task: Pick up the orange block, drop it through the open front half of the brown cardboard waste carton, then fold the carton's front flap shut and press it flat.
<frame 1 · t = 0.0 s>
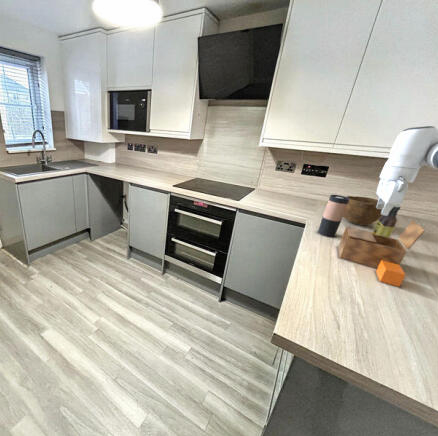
hand: (381, 211, 88), 22 cm above the worktop, tool pointing down, fingers open, 8 cm apart
sauce bottle: (376, 244, 113), on the worktop
bowl: (356, 223, 139), on the worktop
carton: (363, 258, 98), on the worktop
travel mug: (325, 234, 121), on the worktop
carton flap: (410, 234, 88), point 14 cm above the worktop, hinge at 100.0°
orange block: (386, 278, 85), on the worktop
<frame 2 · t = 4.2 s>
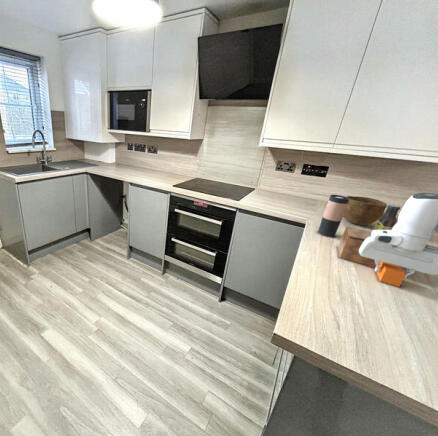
hand: (388, 274, 84), 2 cm above the worktop, tool pointing down, fingers closed on orange block, 5 cm apart
orange block: (386, 278, 85), on the worktop, touching gripper
everything else where it was.
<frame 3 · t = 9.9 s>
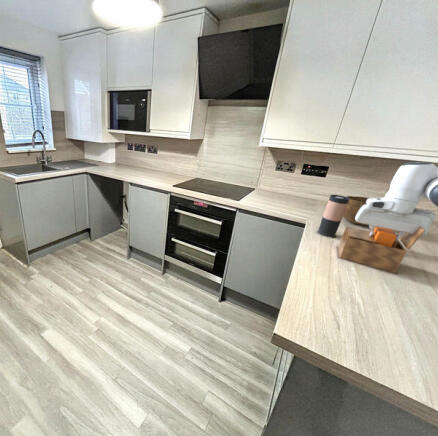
hand: (382, 238, 93), 10 cm above the worktop, tool pointing down, fingers closed on orange block, 5 cm apart
orange block: (380, 242, 94), point 9 cm above the worktop, touching gripper
everything else where it was.
when the fingers open (13 cm above the worktop, at t = 28.4 s): orange block drops 11 cm, resting on carton.
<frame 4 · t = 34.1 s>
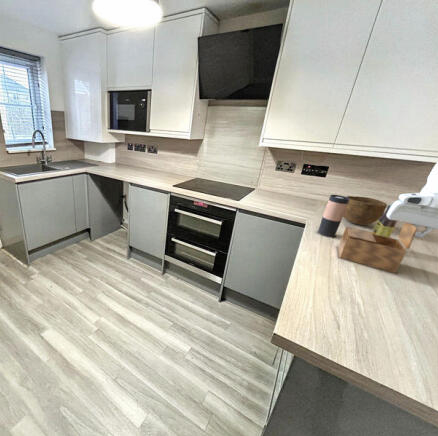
hand: (416, 236, 87), 14 cm above the worktop, tool pointing down, fingers closed
carton flap: (407, 233, 89), point 14 cm above the worktop, hinge at 86.6°, touching gripper
orange block: (372, 259, 97), resting on carton
everything else where it was.
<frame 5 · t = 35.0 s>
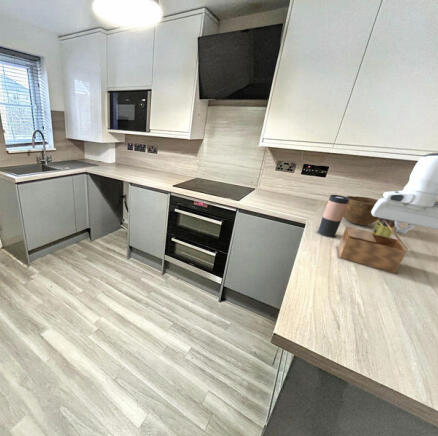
hand: (399, 233, 90), 14 cm above the worktop, tool pointing down, fingers closed
carton flap: (395, 234, 90), point 13 cm above the worktop, hinge at 43.4°, touching gripper
everything else where it was.
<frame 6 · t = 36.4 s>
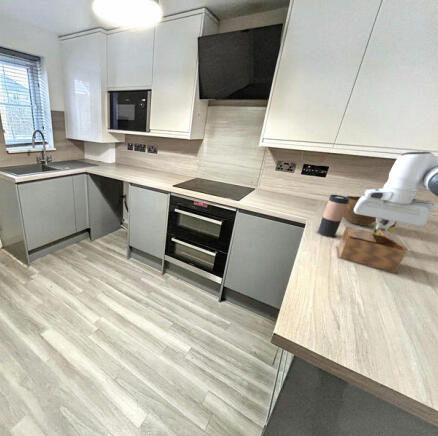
hand: (380, 229, 93), 14 cm above the worktop, tool pointing down, fingers closed
carton flap: (391, 236, 91), point 12 cm above the worktop, hinge at 23.3°, touching gripper
everything else where it was.
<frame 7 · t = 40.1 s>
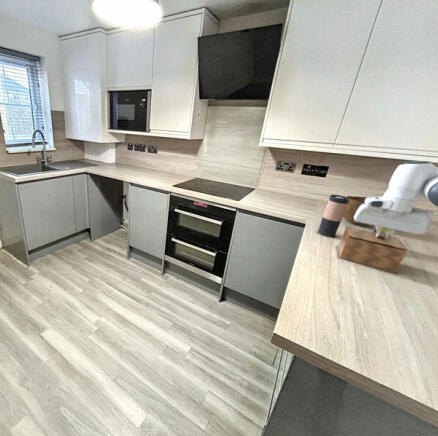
hand: (380, 237, 93), 11 cm above the worktop, tool pointing down, fingers closed, pressing on carton flap
carton flap: (388, 240, 92), point 10 cm above the worktop, hinge at 1.1°, touching gripper
everything else where it was.
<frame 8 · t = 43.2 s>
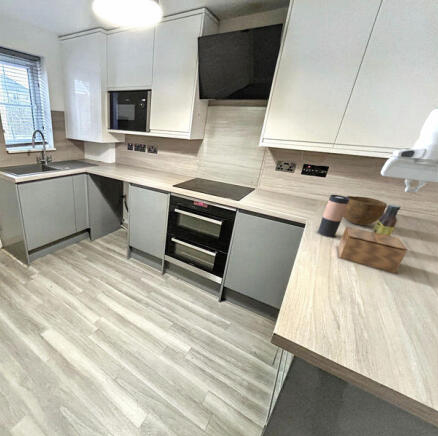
hand: (410, 192, 88), 29 cm above the worktop, tool pointing down, fingers closed
carton flap: (388, 240, 92), point 10 cm above the worktop, hinge at 0.0°
everything else where it was.
at the end: orange block inside the target area in the carton (2.5 cm from its centre), point 0.5 cm above the carton's base; carton flap at +0° (first picture: +100°) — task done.
